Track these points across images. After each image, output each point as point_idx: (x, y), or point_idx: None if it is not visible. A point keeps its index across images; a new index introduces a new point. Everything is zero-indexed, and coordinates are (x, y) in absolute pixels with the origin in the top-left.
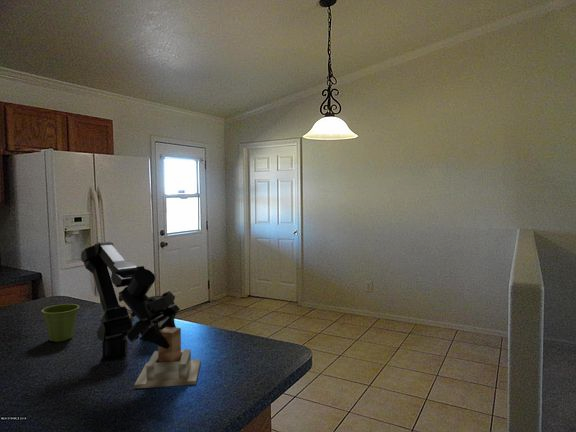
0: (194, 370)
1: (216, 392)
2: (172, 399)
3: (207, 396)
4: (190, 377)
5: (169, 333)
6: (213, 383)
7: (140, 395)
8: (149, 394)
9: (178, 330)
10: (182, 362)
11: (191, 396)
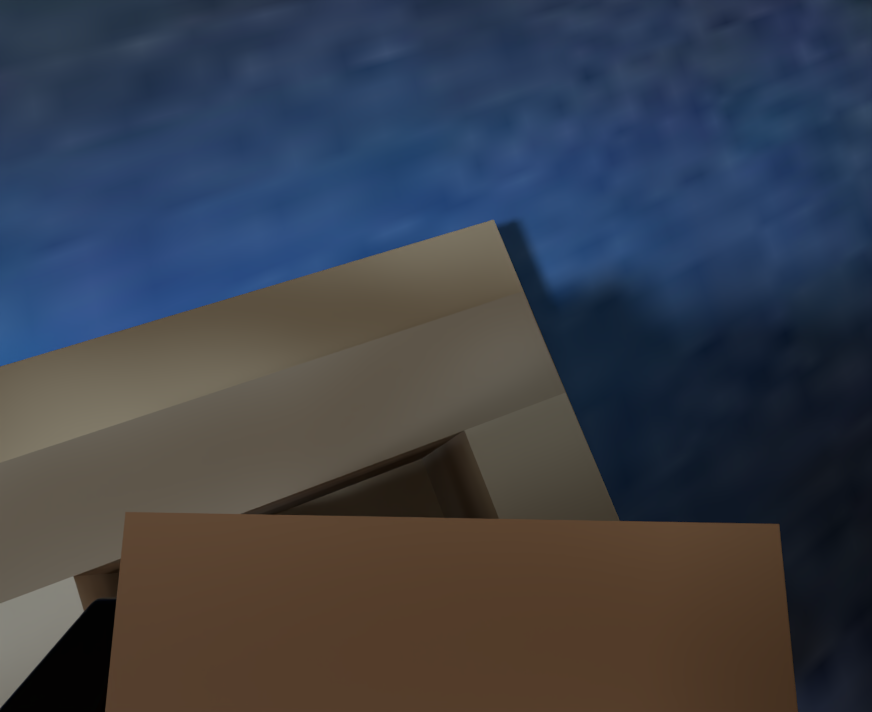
0: (249, 340)
1: (572, 3)
2: (791, 331)
3: (654, 56)
4: (438, 308)
5: (777, 649)
6: (421, 74)
7: (838, 695)
8: (793, 610)
9: (316, 520)
10: (490, 367)
11: (696, 188)
